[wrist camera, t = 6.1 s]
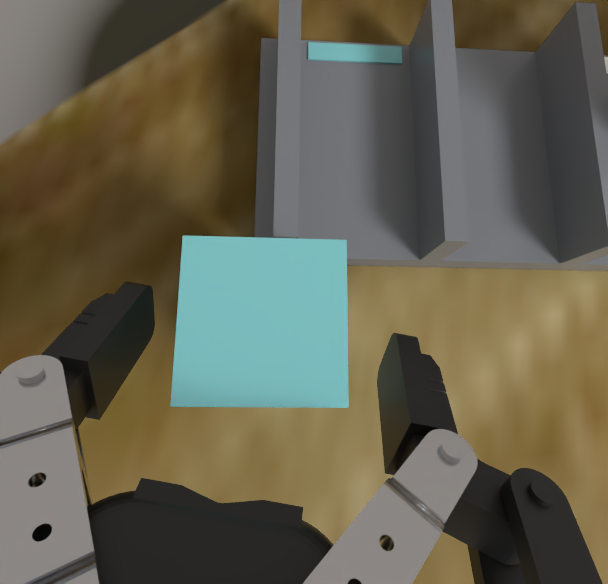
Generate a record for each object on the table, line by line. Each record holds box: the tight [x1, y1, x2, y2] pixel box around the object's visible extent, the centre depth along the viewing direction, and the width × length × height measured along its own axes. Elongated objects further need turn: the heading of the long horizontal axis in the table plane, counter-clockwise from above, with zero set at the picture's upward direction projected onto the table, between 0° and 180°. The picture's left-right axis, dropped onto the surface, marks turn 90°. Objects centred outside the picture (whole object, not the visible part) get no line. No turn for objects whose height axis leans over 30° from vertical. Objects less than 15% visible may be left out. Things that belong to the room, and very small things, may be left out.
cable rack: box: [254, 0, 608, 271], centre depth 19 cm, size 24×12×4 cm, turn 89°
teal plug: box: [171, 235, 348, 408], centre depth 14 cm, size 4×4×10 cm
